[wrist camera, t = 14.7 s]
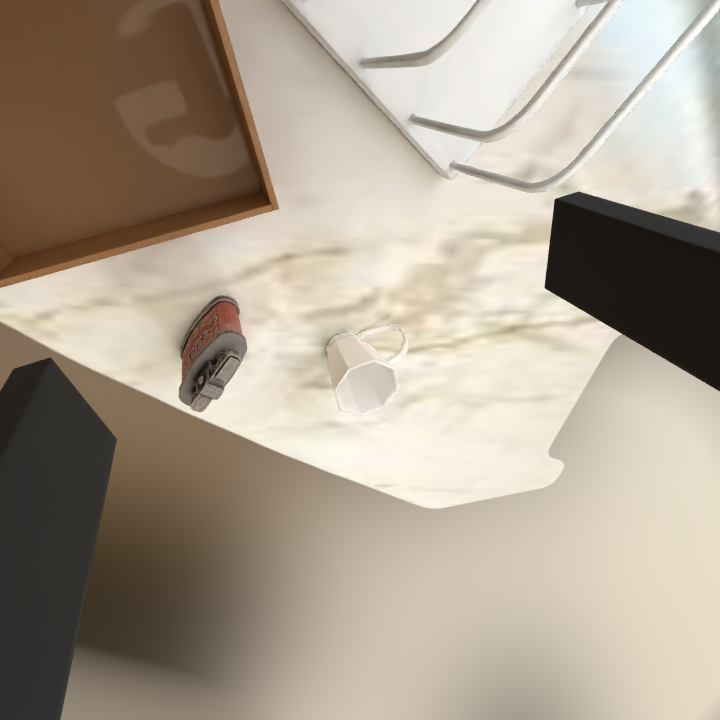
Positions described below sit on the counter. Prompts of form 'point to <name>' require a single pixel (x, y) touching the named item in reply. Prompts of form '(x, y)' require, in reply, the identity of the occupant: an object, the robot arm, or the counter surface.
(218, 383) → the lighter
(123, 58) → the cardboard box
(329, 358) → the cup
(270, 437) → the counter surface
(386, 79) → the file sorter
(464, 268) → the counter surface
